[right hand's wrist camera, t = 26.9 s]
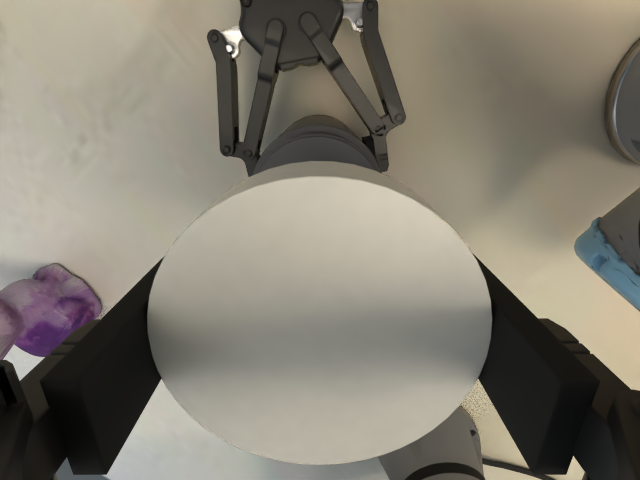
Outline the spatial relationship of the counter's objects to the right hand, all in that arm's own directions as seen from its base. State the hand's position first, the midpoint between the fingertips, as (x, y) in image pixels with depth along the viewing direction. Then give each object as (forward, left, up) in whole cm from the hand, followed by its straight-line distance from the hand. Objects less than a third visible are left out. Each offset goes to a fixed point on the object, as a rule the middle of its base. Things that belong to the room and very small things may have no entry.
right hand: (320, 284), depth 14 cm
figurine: (+29, +23, -28) cm, 46 cm away
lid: (0, 0, +3) cm, 3 cm away
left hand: (-1, +4, -21) cm, 22 cm away
